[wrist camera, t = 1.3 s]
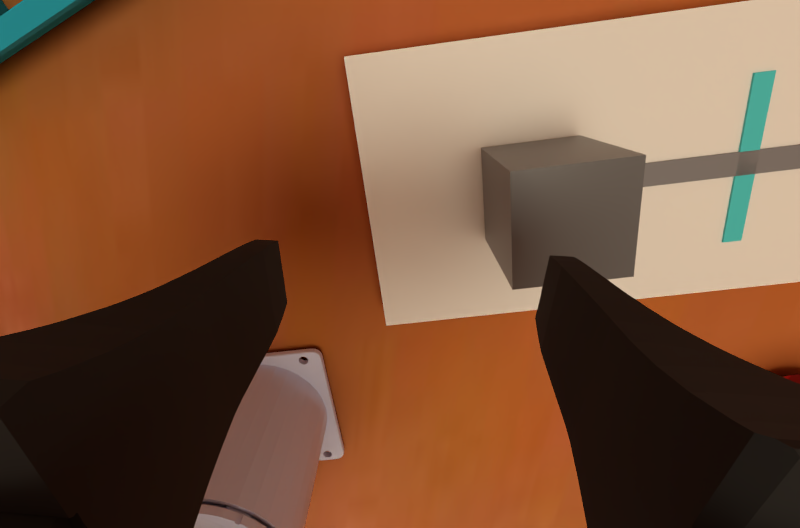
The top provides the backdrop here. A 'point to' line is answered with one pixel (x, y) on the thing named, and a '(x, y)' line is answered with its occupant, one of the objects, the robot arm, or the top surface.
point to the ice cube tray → (32, 21)
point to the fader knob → (562, 206)
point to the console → (597, 119)
